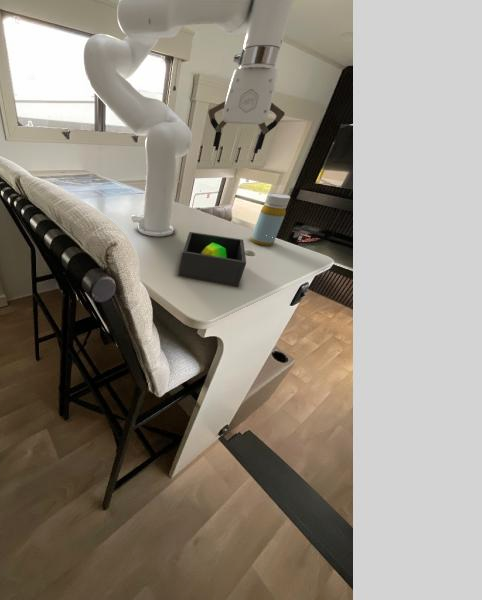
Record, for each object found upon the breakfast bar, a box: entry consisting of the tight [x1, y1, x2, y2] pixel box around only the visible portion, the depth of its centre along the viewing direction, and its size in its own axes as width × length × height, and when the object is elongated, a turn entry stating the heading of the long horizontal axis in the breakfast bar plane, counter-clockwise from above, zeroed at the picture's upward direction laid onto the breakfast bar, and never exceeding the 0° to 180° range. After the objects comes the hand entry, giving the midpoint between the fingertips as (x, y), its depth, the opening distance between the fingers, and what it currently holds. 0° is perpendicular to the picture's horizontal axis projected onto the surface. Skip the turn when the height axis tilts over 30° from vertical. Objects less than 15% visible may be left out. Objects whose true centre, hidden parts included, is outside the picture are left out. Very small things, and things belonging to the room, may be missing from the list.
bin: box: [177, 231, 247, 288], centre depth 66 cm, size 15×15×7 cm
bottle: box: [251, 192, 291, 247], centre depth 80 cm, size 7×7×15 cm
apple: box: [201, 242, 227, 258], centre depth 67 cm, size 7×6×9 cm
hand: (235, 151), depth 65 cm, fingers open, 9 cm apart
